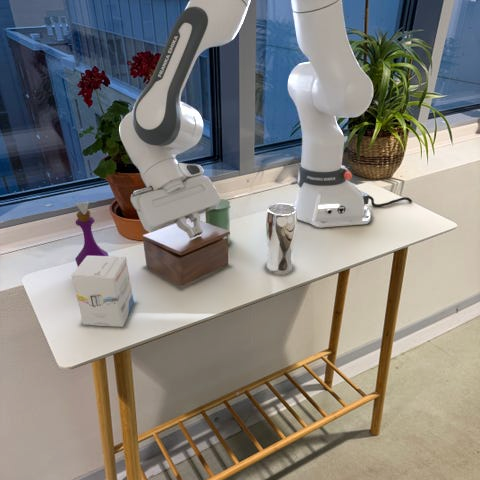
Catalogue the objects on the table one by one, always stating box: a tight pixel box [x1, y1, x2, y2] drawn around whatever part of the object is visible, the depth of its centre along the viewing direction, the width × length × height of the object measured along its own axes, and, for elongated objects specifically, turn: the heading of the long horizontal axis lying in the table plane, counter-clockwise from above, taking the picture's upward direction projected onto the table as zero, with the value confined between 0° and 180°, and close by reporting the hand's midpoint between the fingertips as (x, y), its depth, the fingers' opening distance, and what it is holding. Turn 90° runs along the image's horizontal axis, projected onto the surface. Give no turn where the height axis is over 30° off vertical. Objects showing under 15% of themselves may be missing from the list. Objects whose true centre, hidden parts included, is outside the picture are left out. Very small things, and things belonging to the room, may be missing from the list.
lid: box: [142, 218, 231, 255], centre depth 111 cm, size 14×14×1 cm
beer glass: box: [265, 203, 298, 276], centre depth 112 cm, size 7×7×15 cm
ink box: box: [71, 255, 135, 328], centre depth 97 cm, size 9×8×12 cm
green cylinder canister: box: [204, 198, 231, 245], centre depth 123 cm, size 7×7×11 cm
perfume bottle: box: [74, 201, 110, 267], centre depth 109 cm, size 8×8×18 cm
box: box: [142, 237, 229, 287], centre depth 114 cm, size 13×14×8 cm
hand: (196, 235), depth 108 cm, fingers closed
